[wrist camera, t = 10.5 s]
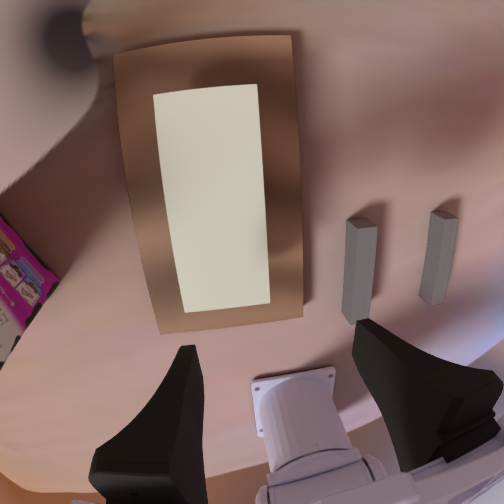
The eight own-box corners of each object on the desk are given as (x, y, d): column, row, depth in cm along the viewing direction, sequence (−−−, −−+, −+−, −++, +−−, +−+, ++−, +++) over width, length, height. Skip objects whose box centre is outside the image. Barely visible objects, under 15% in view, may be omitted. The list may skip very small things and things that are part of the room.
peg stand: (299, 308, 25) (310, 332, 22) (162, 325, 24) (157, 350, 21) (286, 39, 17) (299, 26, 14) (118, 58, 17) (103, 48, 14)
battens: (431, 292, 27) (443, 303, 25) (341, 311, 26) (350, 325, 24) (444, 211, 24) (458, 218, 22) (346, 219, 23) (357, 228, 21)
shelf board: (159, 98, 15) (153, 95, 13) (252, 88, 16) (257, 84, 14) (186, 295, 20) (184, 312, 18) (264, 286, 20) (270, 303, 19)
